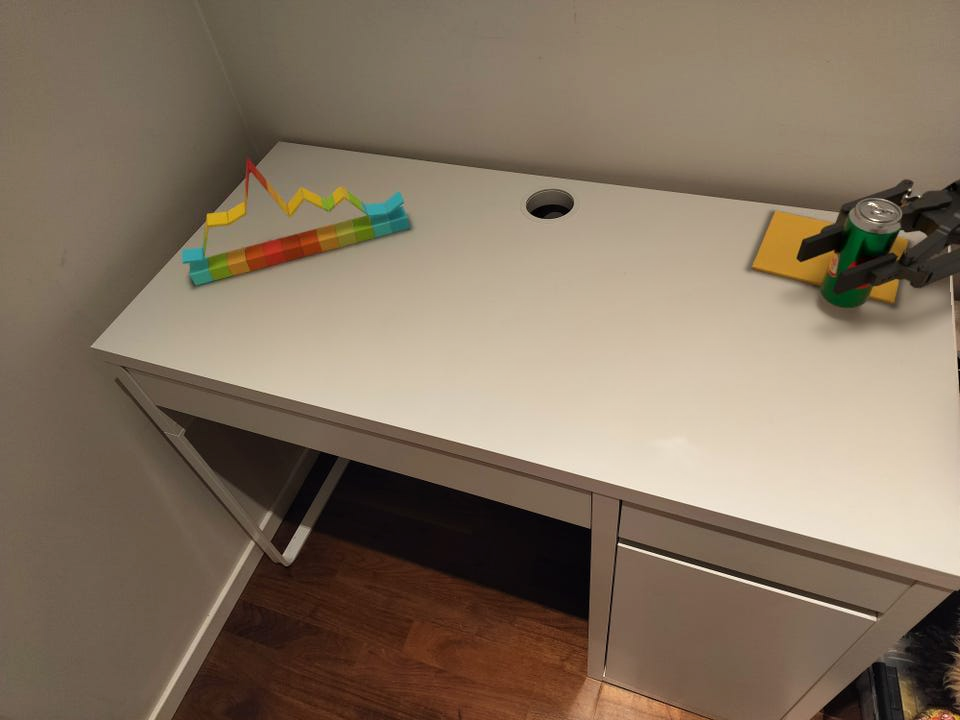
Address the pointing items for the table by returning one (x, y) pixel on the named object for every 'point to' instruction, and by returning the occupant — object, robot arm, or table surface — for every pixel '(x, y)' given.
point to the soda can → (861, 246)
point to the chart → (296, 244)
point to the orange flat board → (783, 251)
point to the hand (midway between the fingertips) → (820, 266)
